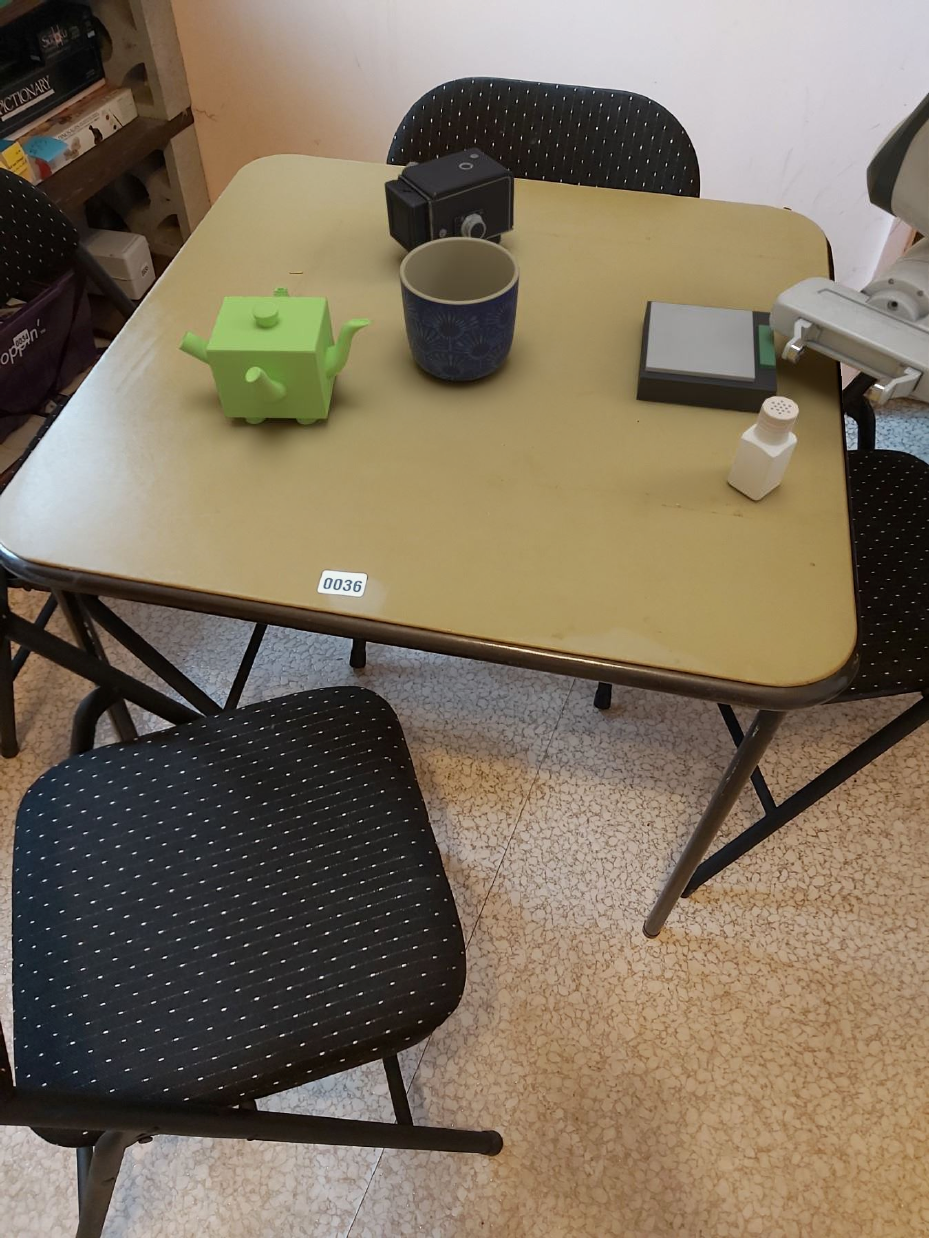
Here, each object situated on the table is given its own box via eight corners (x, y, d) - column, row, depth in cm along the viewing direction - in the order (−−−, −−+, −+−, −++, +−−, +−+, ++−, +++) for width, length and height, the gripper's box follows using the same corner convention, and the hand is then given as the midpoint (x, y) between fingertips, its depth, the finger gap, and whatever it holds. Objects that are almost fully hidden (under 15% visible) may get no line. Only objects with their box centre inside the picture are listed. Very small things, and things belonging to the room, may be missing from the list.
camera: (472, 229, 113) (375, 252, 107) (480, 138, 105) (375, 158, 99) (518, 264, 108) (419, 290, 102) (530, 172, 99) (422, 194, 93)
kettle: (381, 401, 90) (371, 309, 81) (277, 467, 85) (253, 376, 76) (295, 342, 97) (276, 250, 88) (192, 400, 91) (161, 308, 82)
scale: (765, 335, 97) (774, 307, 94) (769, 414, 89) (779, 386, 86) (643, 323, 98) (648, 296, 95) (636, 399, 90) (641, 372, 87)
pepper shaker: (723, 483, 83) (748, 406, 75) (748, 464, 84) (776, 387, 76) (756, 505, 81) (785, 428, 73) (781, 485, 82) (813, 408, 75)
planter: (461, 312, 100) (460, 223, 91) (538, 358, 95) (544, 268, 86) (383, 357, 95) (374, 268, 86) (459, 408, 90) (458, 318, 81)
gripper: (818, 248, 89) (748, 304, 84) (1009, 326, 81) (946, 394, 75) (799, 301, 95) (732, 357, 89) (977, 379, 86) (916, 447, 80)
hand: (832, 375), depth 82 cm, fingers open, 8 cm apart
